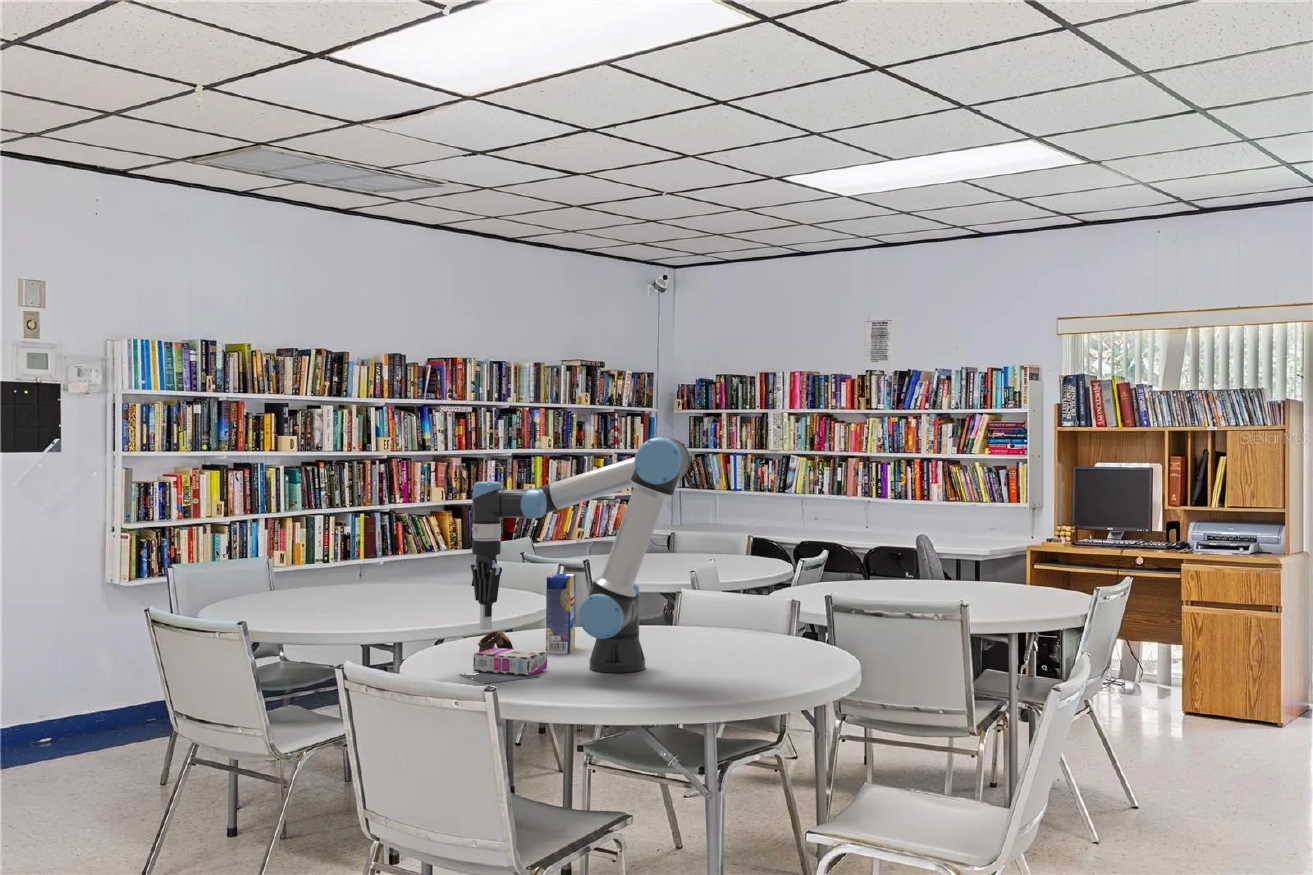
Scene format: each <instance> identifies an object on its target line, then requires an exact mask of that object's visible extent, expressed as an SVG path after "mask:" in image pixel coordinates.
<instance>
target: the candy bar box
mask: <svg viewBox="0 0 1313 875" xmlns="http://www.w3.org/2000/svg"><path fill="white" fill-rule="evenodd" d="M472 667H473V672H491V673H503V674H514V675H525V676H529V675H531V674H536V673H539V672H542V671H544V670H547V668H548V653H547V651H546V650H545V651H544V650H542V651H541V650H531V649H515V648H513V649H505V648H497V647H494V648H492V649H488V650H485V651H481V652H479V651H478V652H475V653H473V666H472Z"/></svg>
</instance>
